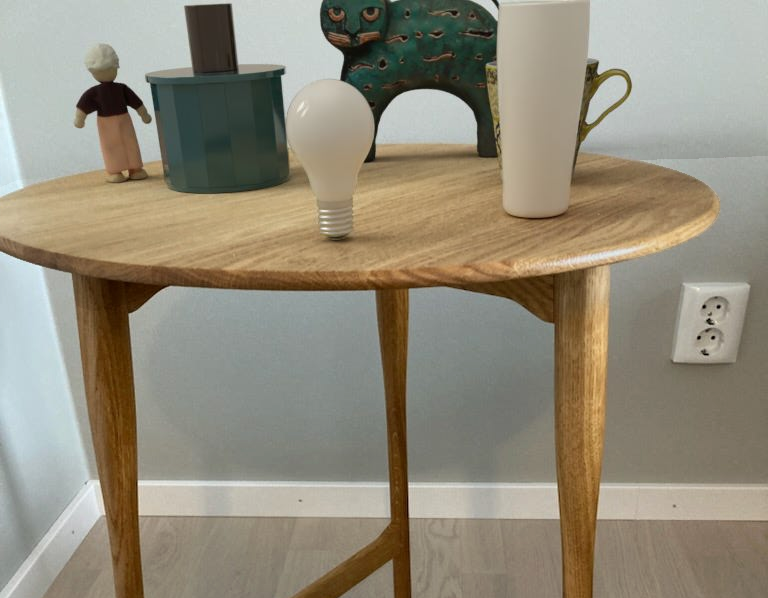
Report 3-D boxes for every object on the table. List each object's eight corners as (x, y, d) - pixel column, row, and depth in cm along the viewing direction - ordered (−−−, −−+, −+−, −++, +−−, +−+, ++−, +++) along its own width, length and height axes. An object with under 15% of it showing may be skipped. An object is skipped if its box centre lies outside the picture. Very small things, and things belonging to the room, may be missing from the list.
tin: (142, 191, 89) (125, 84, 84) (204, 168, 99) (191, 72, 94) (257, 194, 85) (245, 83, 81) (309, 170, 95) (301, 70, 91)
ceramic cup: (472, 188, 84) (473, 67, 79) (496, 168, 92) (499, 58, 87) (617, 192, 80) (628, 65, 75) (629, 171, 88) (639, 55, 83)
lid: (118, 92, 84) (104, 9, 81) (190, 78, 95) (180, 4, 92) (249, 91, 80) (240, 4, 77) (308, 76, 91) (303, -1, 88)
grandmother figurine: (147, 171, 99) (125, 40, 92) (164, 175, 96) (143, 40, 90) (80, 182, 95) (52, 46, 88) (95, 187, 92) (68, 46, 86)
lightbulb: (388, 230, 71) (383, 73, 65) (365, 250, 66) (357, 82, 60) (311, 228, 73) (299, 75, 67) (282, 248, 67) (267, 84, 62)
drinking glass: (589, 206, 75) (604, -2, 68) (559, 224, 70) (571, 1, 63) (513, 201, 78) (519, 1, 71) (479, 218, 73) (482, 4, 66)
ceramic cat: (328, 165, 98) (314, -55, 88) (333, 155, 103) (320, -52, 93) (515, 158, 97) (521, -65, 87) (510, 148, 102) (515, -62, 92)
